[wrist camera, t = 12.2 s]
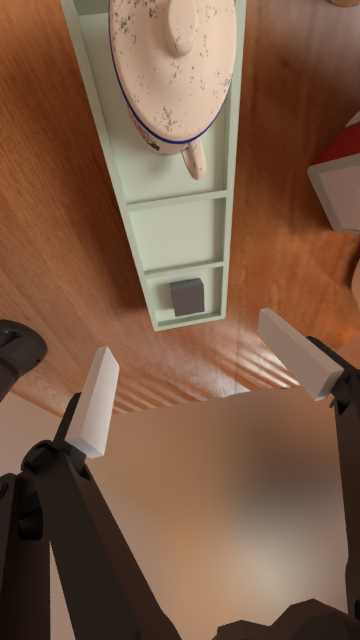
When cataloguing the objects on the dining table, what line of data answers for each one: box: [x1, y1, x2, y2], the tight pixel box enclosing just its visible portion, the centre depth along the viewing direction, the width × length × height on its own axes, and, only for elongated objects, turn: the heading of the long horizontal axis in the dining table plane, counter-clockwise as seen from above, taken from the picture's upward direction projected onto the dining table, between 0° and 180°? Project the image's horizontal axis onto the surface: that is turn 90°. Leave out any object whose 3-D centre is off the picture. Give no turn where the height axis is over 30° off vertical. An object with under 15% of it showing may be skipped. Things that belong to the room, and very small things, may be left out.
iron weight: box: [169, 278, 205, 317], centre depth 33 cm, size 6×6×3 cm
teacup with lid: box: [108, 0, 237, 180], centre depth 15 cm, size 12×9×12 cm
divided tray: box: [60, 0, 246, 331], centre depth 26 cm, size 16×38×3 cm, turn 7°
